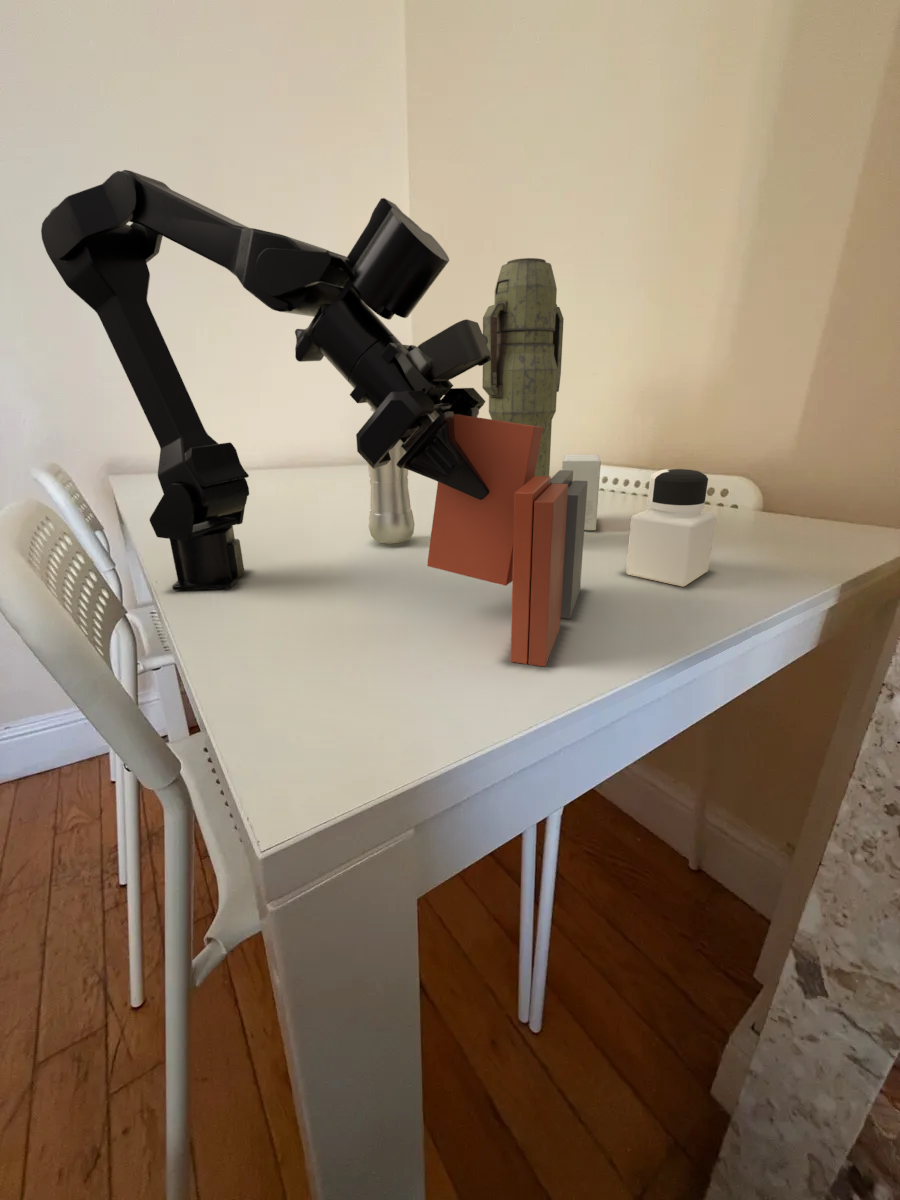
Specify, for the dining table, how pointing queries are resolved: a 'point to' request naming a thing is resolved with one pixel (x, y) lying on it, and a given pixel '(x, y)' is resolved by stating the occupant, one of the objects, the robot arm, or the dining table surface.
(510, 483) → the rust book
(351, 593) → the dining table surface
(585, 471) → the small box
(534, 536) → the rust books
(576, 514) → the grey books
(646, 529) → the medicine bottle
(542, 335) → the olive green military canister
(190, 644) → the dining table surface
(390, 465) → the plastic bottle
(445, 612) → the dining table surface
